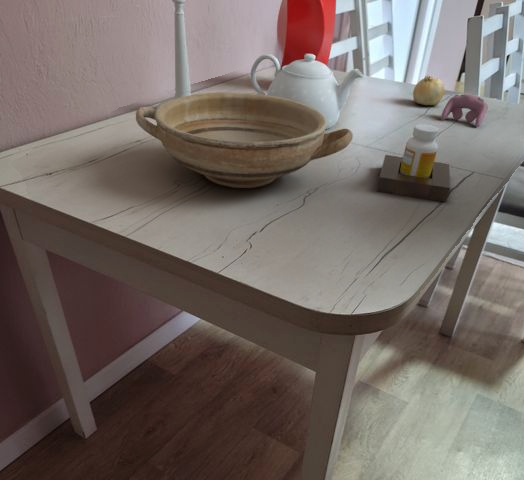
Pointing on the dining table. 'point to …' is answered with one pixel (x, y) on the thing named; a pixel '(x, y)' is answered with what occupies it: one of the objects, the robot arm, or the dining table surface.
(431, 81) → the onion
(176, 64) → the candlestick
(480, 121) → the video game controller
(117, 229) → the dining table surface
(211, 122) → the ceramic bowl
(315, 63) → the teapot
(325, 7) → the vase
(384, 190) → the socket
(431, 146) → the supplement bottle
